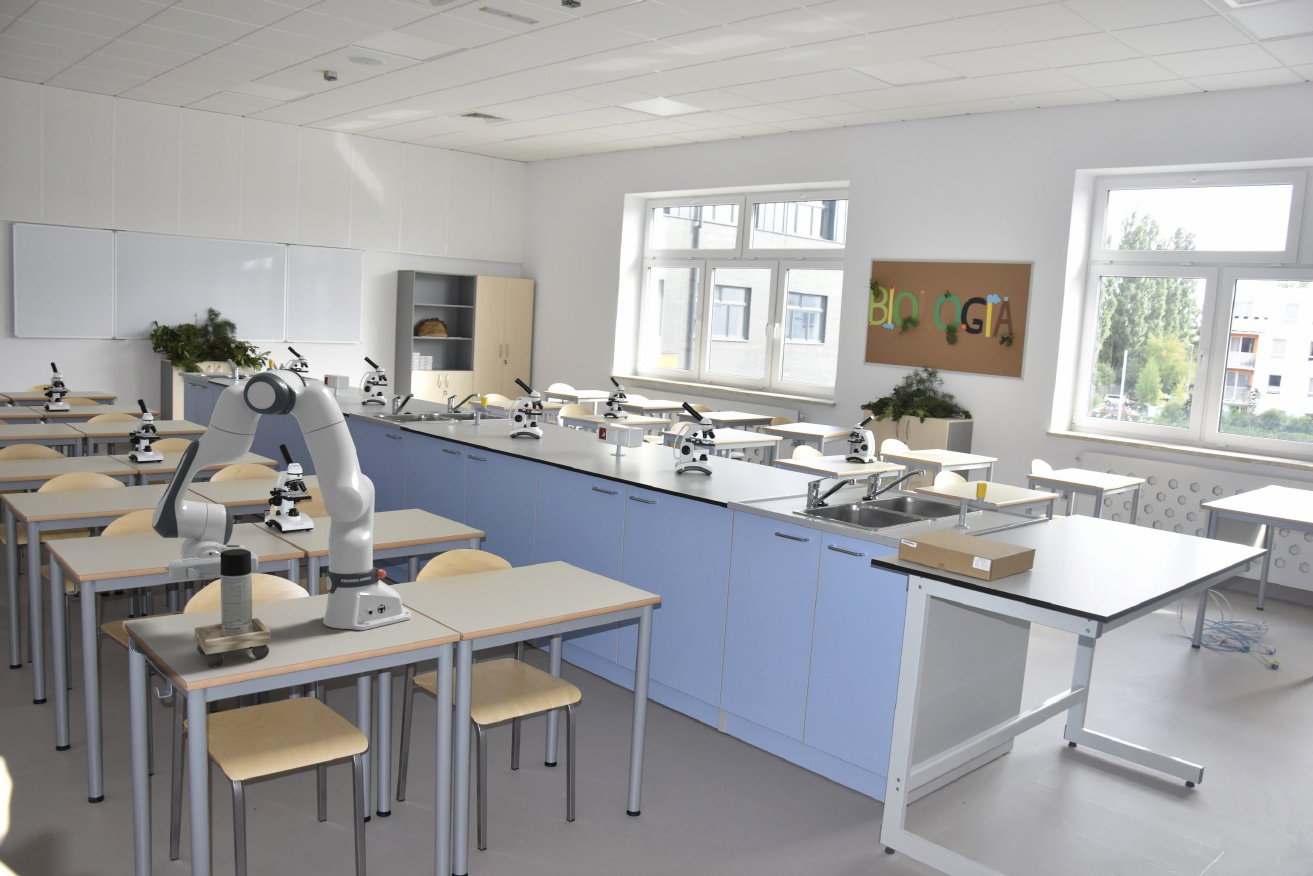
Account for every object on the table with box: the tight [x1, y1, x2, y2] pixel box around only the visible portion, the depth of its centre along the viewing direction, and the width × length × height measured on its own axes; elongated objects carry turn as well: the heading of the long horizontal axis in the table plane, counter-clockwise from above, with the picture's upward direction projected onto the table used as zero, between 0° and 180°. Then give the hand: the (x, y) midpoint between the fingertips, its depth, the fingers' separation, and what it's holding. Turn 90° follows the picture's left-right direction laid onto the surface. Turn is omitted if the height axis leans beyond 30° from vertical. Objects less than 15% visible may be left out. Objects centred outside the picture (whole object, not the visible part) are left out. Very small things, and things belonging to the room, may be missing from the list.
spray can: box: [220, 548, 253, 637], centre depth 222 cm, size 7×7×20 cm
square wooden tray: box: [194, 617, 272, 668], centre depth 223 cm, size 14×12×6 cm
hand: (220, 573), depth 230 cm, fingers open, 8 cm apart
